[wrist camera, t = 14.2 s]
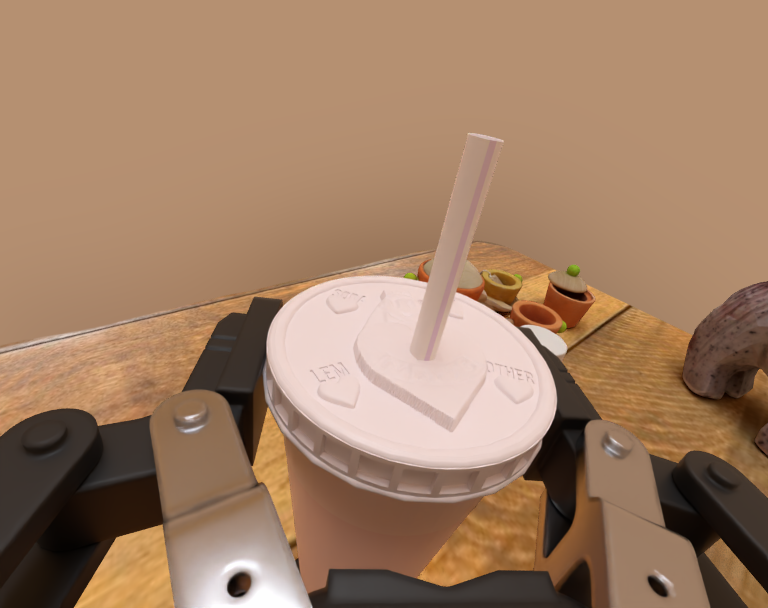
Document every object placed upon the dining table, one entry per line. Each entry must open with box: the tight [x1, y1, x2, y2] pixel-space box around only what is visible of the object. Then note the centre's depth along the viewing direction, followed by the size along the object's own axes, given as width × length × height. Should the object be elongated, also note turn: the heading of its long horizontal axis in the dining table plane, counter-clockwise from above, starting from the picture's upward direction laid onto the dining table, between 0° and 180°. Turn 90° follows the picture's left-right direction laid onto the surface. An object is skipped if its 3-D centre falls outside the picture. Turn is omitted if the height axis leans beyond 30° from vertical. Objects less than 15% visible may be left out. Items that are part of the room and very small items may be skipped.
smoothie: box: [262, 133, 557, 594], centre depth 10 cm, size 6×6×14 cm
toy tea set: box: [404, 259, 595, 334], centre depth 45 cm, size 26×16×10 cm, turn 132°
